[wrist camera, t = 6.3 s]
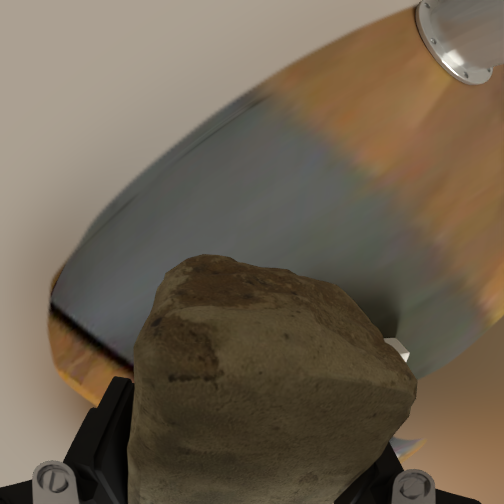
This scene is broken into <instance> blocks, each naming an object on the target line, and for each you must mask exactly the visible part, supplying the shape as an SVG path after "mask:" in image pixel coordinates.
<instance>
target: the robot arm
mask: <svg viewBox="0 0 504 504" xmlns="http://www.w3.org/2000/svg"><path fill="white" fill-rule="evenodd" d="M416 23H417V27H418V30H419V33H420V35H421V37H422V39H423V41H424V43H425V45H426V46H427V48H428V50H429V51H430V53H431V54H432V55H433V57H434V58H435V60H436V61H437V62H438V63H439V64H440V65H441V66H442V67H443V68H444V69H445V70H446V71H447V72H448V73H449V74H450V75H452V76H453V77H454V78H456V79H457V80H459V81H461V82H463V83H466V84H469V85H478V84H483V83H485V82H487V81H488V79H489V78H490V77H491V75H492V70H493V67H494V66H497V65H501V64H504V0H422V1H421V2H420V3H419V4H418V6H417V9H416ZM134 391H135V383H132V381H131V379H129V378H123V377H117V376H115V377H113V379H112V381H111V382H110V384H109V386H108V388H107V390H106V392H105V394H104V396H103V398H102V400H101V401H100V403H99V405H98V407H97V408H91V409H90V410H89V412H88V413H87V415H86V417H85V419H84V421H83V423H82V425H81V427H80V429H79V431H78V433H77V434H76V437H75V438H74V441H73V442H72V444H71V447H70V448H69V450H68V452H67V455H66V457H65V459H64V461H63V463H62V462H59V461H46V462H43V463H41V464H40V465H39V466H37V467H36V469H35V470H34V472H33V478H32V480H29V481H25V482H21V483H17V484H13V485H9V486H5V487H1V488H0V504H128V475H129V472H128V455H127V446H128V442H129V439H130V430H131V420H132V411H133V401H134ZM334 504H481V503H480V502H479V501H477V500H475V499H470V498H467V497H463V496H459V495H456V494H452V493H449V492H445V491H442V490H438V489H435V483H434V480H433V479H432V477H431V476H430V475H429V474H427V473H426V472H424V471H422V470H417V469H410V470H406V471H404V470H403V468H402V466H401V464H400V462H399V460H398V458H397V456H396V454H395V452H394V450H393V448H392V447H391V445H390V443H389V442H388V444H387V446H386V447H385V449H384V451H383V453H382V454H381V456H380V457H379V458H378V459H377V460H376V461H375V462H374V463H373V464H372V465H371V466H370V467H369V468H368V469H367V470H366V471H365V472H364V473H363V474H361V475H360V476H359V477H358V478H357V479H356V480H355V481H354V482H353V483H352V484H351V485H350V486H349V487H348V488H347V489H346V490H345V491H344V492H343V493H342V494H341V495H340V496H339V497H338V498H337V499H336V500H335V501H334Z"/></svg>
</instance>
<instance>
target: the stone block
mask: <svg viewBox="0 0 504 504" xmlns="http://www.w3.org/2000/svg"><path fill="white" fill-rule="evenodd" d="M134 382H135V391H134V401H133V411H132V420H131V430H130V439H129V442H128V446H127V455H128V472H129V475H128V504H332V503H333V502H334V501H335V500H336V499H337V498H338V497H339V496H340V495H341V494H342V493H343V492H344V491H345V490H346V489H347V488H348V487H349V486H350V485H351V484H352V483H353V482H354V481H355V480H356V479H357V478H358V477H359V476H360V475H361V474H363V473H364V472H365V471H366V470H367V469H368V468H369V467H370V466H371V465H372V464H373V463H374V462H375V461H376V460H377V459H378V458H379V457H380V456H381V454H382V453H383V451H384V449H385V447H386V446H387V444H388V442H389V440H390V439H391V437H392V436H393V435H394V434H395V432H396V431H397V430H398V429H399V428H400V426H401V425H402V424H403V423H404V422H405V420H406V419H407V418H408V417H409V414H410V410H411V406H412V404H413V403H414V401H415V399H416V391H417V379H416V378H415V376H414V375H413V373H412V372H411V370H410V369H409V367H408V365H407V364H406V362H405V361H404V359H403V358H402V356H401V355H400V354H399V352H398V351H397V350H396V349H395V348H394V347H393V346H391V345H390V344H388V343H386V342H385V341H384V338H383V336H382V334H381V332H380V330H379V329H378V328H377V327H376V326H375V325H373V324H372V323H371V321H370V320H369V318H368V317H367V316H366V314H365V313H364V312H363V311H362V310H361V309H360V308H359V306H358V305H357V304H356V302H355V301H354V300H353V299H352V298H351V297H350V296H349V295H348V294H346V293H345V292H344V291H343V290H342V289H341V288H340V287H338V286H337V285H334V284H331V283H328V282H324V281H319V280H315V279H312V278H308V277H304V276H298V275H296V274H295V273H293V272H291V271H289V270H287V269H279V268H261V267H257V266H253V265H249V264H246V263H239V262H237V261H235V260H234V259H232V258H231V257H225V256H220V255H207V254H202V255H199V256H195V257H191V258H188V259H186V260H184V261H183V262H182V263H180V264H179V265H177V266H176V267H174V268H173V269H171V270H170V271H168V272H167V273H165V277H164V280H163V281H162V283H161V284H160V286H159V287H158V288H157V291H156V295H155V300H154V304H153V308H152V310H151V313H150V315H149V316H148V318H147V320H146V322H145V324H144V326H143V328H142V330H141V331H140V333H139V335H138V338H137V340H136V342H135V345H134Z"/></svg>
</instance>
